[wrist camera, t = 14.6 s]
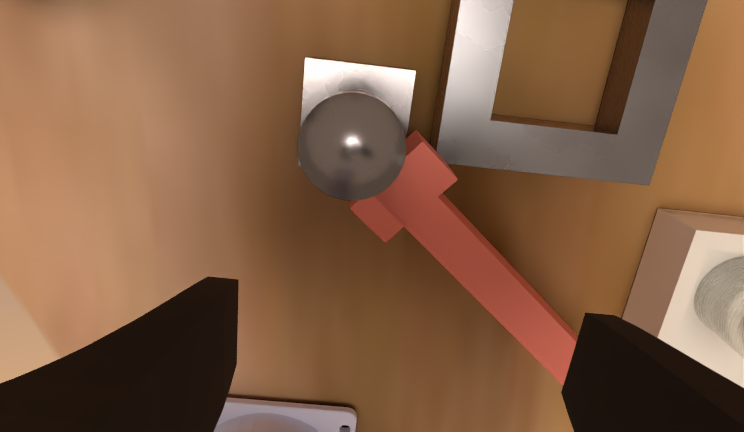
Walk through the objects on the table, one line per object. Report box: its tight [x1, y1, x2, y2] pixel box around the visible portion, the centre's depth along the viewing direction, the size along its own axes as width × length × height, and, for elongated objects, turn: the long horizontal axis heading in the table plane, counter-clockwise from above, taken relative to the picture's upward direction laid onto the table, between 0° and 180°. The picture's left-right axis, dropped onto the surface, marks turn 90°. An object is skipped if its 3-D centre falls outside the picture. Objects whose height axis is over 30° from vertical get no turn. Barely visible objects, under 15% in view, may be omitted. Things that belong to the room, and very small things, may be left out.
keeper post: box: [297, 57, 416, 201], centre depth 16 cm, size 4×4×6 cm
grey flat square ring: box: [430, 0, 707, 186], centre depth 18 cm, size 8×8×2 cm
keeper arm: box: [350, 130, 578, 385], centre depth 17 cm, size 13×3×2 cm, turn 44°
